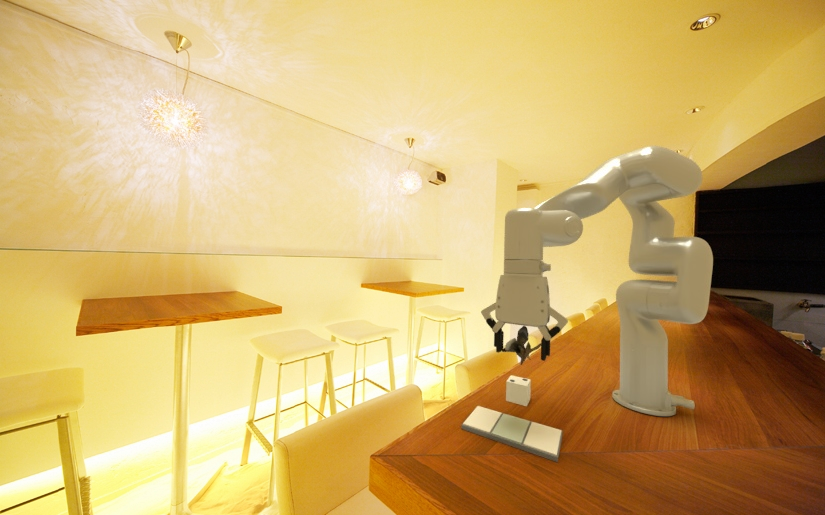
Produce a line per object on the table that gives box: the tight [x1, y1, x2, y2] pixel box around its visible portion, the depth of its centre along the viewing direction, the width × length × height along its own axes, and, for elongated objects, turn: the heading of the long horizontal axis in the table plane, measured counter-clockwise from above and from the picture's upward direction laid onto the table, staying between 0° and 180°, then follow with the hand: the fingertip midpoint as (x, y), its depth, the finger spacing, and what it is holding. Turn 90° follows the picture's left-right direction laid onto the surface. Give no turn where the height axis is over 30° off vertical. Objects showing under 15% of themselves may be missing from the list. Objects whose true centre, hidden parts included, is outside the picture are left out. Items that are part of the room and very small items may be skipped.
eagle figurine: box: [501, 325, 541, 366], centre depth 61 cm, size 8×7×9 cm
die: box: [505, 375, 532, 407], centre depth 74 cm, size 5×5×5 cm
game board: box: [460, 405, 564, 463], centre depth 60 cm, size 18×10×1 cm, turn 58°
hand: (520, 354), depth 59 cm, fingers closed on eagle figurine, 8 cm apart
